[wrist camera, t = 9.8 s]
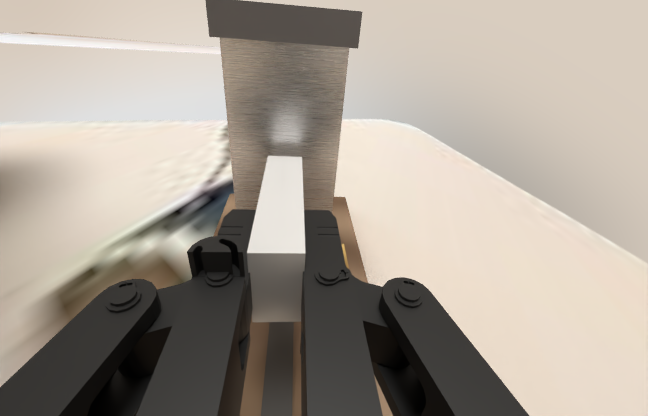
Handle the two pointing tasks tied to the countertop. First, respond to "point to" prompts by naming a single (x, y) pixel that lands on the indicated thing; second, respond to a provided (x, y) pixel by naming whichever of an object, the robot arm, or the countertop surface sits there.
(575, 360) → the countertop surface
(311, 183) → the silver square canister
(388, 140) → the countertop surface
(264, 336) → the rail board
